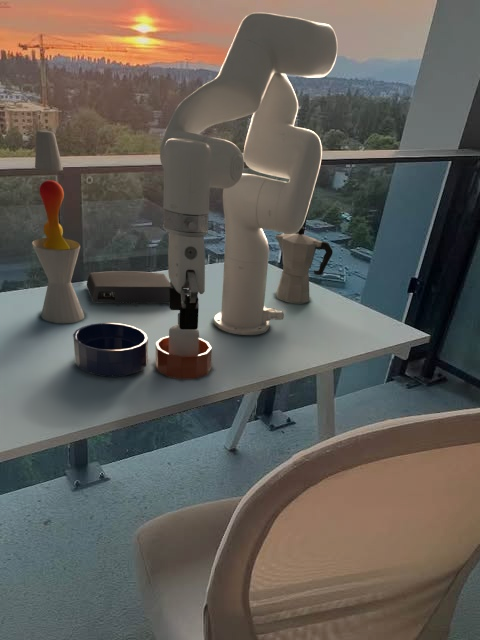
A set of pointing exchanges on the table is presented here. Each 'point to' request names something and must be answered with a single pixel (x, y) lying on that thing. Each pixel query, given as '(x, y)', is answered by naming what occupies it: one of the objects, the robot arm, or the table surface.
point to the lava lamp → (55, 240)
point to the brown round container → (183, 361)
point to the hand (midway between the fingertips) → (183, 319)
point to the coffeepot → (299, 265)
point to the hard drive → (128, 287)
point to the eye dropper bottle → (183, 341)
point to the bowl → (110, 349)
